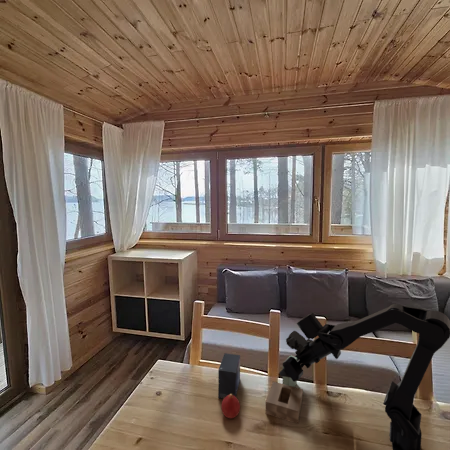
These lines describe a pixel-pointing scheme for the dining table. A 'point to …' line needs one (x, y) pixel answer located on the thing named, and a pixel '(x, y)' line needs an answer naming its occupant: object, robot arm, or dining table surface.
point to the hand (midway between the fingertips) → (286, 367)
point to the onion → (230, 406)
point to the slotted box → (284, 402)
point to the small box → (229, 375)
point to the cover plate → (288, 380)
